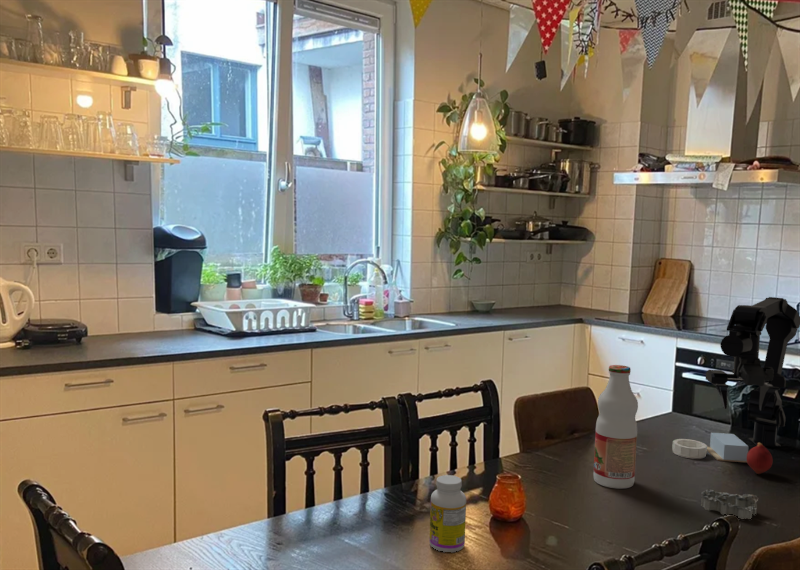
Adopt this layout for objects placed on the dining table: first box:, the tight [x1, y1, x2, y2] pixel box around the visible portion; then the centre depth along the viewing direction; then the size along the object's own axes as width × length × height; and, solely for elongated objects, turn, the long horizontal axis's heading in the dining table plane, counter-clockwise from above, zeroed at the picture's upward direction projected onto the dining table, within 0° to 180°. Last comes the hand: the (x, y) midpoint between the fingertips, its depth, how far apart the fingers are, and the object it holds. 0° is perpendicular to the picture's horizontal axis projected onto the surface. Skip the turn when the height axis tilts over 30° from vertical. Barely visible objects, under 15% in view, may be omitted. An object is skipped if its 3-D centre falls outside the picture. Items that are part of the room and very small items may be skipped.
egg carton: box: [700, 488, 759, 520], centre depth 149 cm, size 11×8×4 cm
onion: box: [746, 443, 774, 475], centre depth 172 cm, size 6×6×8 cm
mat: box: [707, 445, 747, 463], centre depth 187 cm, size 11×9×1 cm
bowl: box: [671, 438, 708, 460], centre depth 187 cm, size 8×8×3 cm
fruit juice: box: [593, 364, 639, 490], centre depth 163 cm, size 9×9×28 cm
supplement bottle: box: [428, 474, 467, 553], centre depth 128 cm, size 7×7×13 cm
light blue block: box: [709, 432, 749, 461], centre depth 187 cm, size 11×6×4 cm, turn 173°
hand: (743, 409), depth 186 cm, fingers open, 9 cm apart
